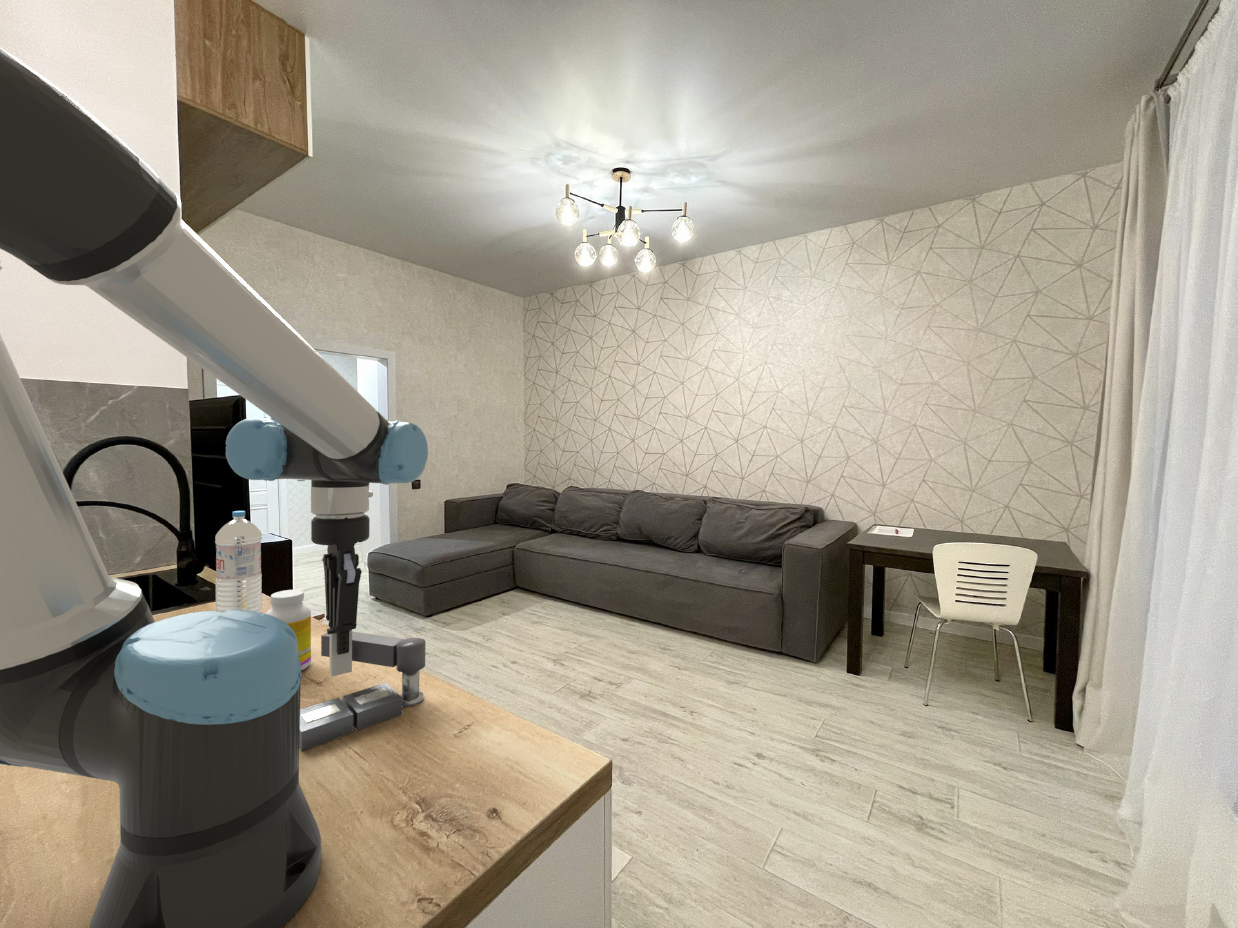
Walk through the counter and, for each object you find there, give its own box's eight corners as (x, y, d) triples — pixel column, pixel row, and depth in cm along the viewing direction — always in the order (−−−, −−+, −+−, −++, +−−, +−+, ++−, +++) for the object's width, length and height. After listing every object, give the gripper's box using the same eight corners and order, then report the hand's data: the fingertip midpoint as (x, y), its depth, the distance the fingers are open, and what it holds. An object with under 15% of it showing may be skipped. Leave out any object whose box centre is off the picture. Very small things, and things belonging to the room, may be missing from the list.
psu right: (357, 731, 67) (357, 712, 67) (342, 713, 72) (342, 695, 71) (402, 714, 72) (402, 696, 72) (385, 698, 76) (385, 681, 76)
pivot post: (403, 709, 73) (403, 677, 73) (393, 700, 76) (393, 668, 75) (427, 700, 76) (428, 669, 75) (417, 692, 78) (417, 661, 78)
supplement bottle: (320, 661, 88) (320, 588, 87) (291, 679, 81) (291, 600, 81) (284, 658, 88) (284, 586, 88) (253, 676, 82) (253, 598, 81)
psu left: (301, 751, 63) (301, 731, 63) (289, 731, 67) (289, 712, 67) (353, 732, 67) (353, 713, 67) (338, 714, 71) (338, 696, 71)
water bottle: (222, 640, 95) (221, 509, 94) (265, 635, 98) (265, 508, 97) (210, 654, 89) (209, 514, 88) (257, 649, 92) (257, 513, 91)
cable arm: (318, 658, 77) (318, 635, 77) (338, 648, 81) (338, 626, 81) (414, 674, 73) (414, 650, 73) (430, 662, 77) (431, 639, 77)
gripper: (381, 518, 72) (380, 681, 72) (357, 508, 81) (357, 652, 82) (320, 522, 67) (320, 697, 67) (303, 511, 76) (303, 664, 77)
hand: (340, 672), depth 75 cm, fingers closed
